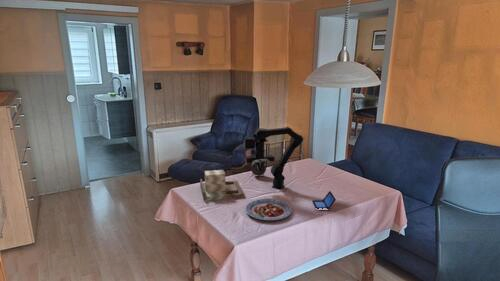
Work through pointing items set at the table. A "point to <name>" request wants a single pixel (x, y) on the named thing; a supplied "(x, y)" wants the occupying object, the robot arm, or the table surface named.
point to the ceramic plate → (268, 209)
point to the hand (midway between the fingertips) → (259, 171)
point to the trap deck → (230, 191)
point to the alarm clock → (255, 169)
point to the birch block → (215, 180)
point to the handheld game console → (325, 201)
